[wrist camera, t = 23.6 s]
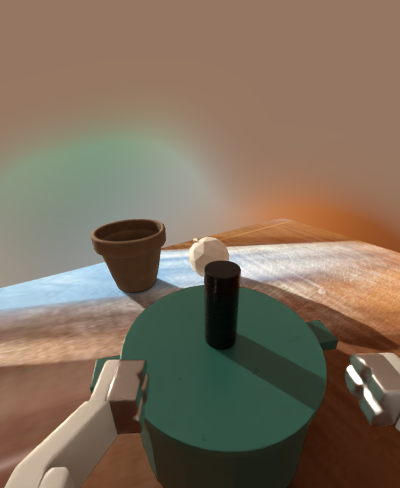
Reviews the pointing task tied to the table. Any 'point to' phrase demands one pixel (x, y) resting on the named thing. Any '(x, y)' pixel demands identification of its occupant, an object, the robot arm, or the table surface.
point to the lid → (227, 367)
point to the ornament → (206, 253)
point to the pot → (223, 468)
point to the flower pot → (131, 251)
